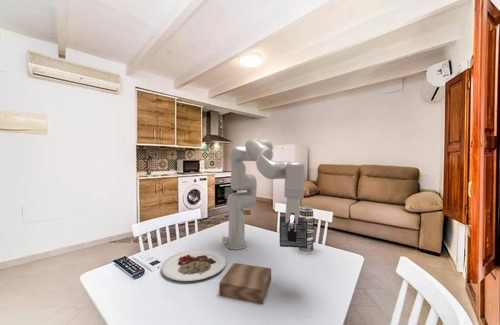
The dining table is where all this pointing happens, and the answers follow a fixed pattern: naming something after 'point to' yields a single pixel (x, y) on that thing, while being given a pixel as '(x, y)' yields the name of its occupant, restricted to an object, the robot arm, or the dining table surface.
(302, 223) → the small box
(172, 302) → the dining table surface
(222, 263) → the plated food
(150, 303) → the dining table surface
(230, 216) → the robot arm
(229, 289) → the block
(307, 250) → the decorative candle
